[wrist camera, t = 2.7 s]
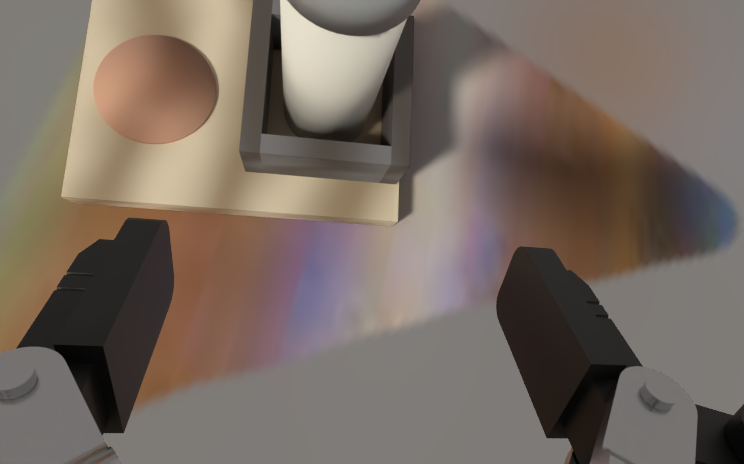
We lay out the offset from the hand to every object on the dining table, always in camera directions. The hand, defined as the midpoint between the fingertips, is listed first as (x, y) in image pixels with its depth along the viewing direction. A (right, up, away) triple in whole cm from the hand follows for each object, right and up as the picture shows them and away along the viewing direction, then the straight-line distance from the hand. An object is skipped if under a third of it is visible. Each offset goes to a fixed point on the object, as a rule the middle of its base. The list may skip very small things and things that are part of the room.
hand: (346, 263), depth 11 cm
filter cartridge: (-2, +8, +17) cm, 19 cm away
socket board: (-7, +8, +18) cm, 21 cm away
